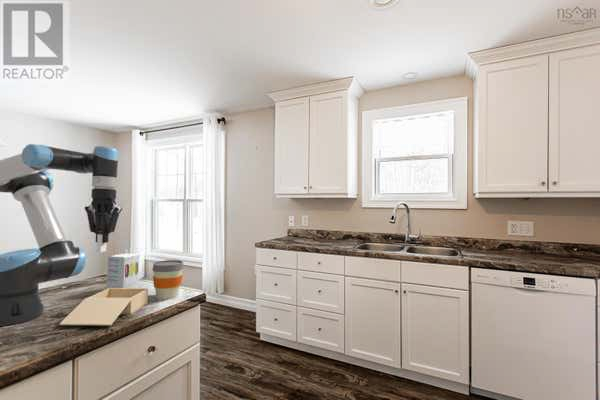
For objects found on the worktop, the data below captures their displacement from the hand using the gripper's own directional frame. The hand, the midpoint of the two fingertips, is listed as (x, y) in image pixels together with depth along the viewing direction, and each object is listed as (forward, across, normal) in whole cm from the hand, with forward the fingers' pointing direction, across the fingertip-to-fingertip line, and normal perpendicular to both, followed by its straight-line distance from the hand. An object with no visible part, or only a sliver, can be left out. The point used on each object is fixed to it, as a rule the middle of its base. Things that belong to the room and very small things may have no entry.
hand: (101, 251), depth 102 cm
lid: (+19, +4, -6) cm, 21 cm away
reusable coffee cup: (+23, +15, +22) cm, 35 cm away
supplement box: (+24, -10, +27) cm, 37 cm away
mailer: (+23, +4, +6) cm, 24 cm away
